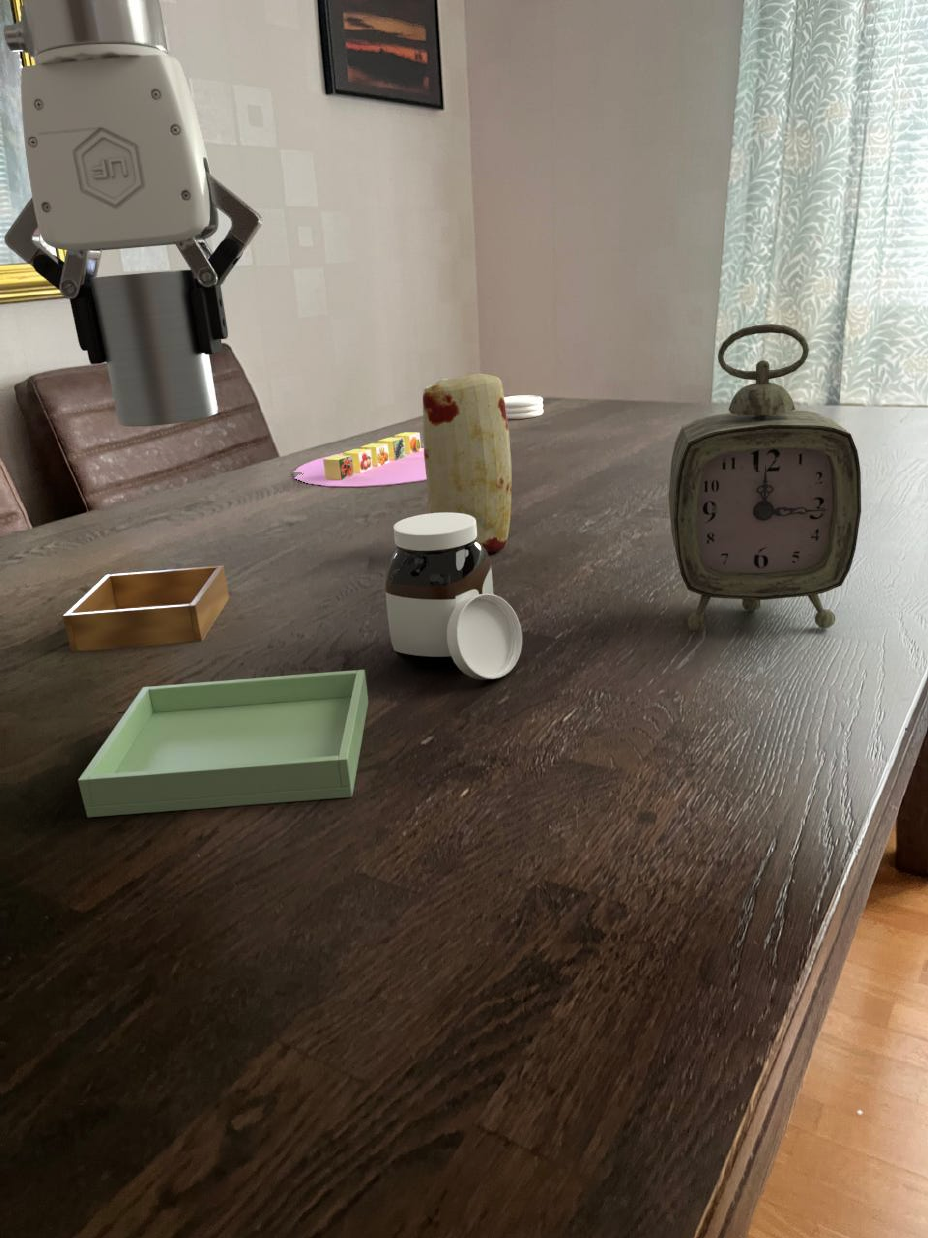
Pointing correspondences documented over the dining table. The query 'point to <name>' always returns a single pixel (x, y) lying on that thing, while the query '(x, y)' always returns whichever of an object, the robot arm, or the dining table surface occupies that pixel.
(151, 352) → the can
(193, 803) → the tray
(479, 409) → the food model
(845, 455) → the tabletop clock
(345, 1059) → the dining table surface
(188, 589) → the wooden box
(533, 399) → the white short ridged cylinder
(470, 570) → the spread jar
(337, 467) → the platter
